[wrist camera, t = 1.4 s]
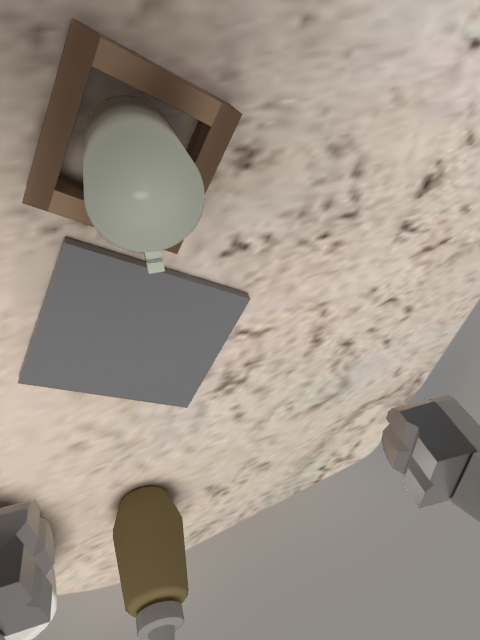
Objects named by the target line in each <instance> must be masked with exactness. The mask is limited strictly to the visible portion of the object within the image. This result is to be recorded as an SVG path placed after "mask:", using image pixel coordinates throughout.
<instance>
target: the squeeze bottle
mask: <svg viewBox="0 0 480 640" xmlns="http://www.w3.org/2000/svg"><path fill="white" fill-rule="evenodd" d="M113 540H114V546H115V552H116V557H117V563H118V569H119V575H120V581H121V586H122V592H123V598H124V604H125V610H126V612H128V613H129V614H130V615H132V616H133V617H136V627H137V636H138V637H139V638H140V639H143V640H174V635H175V632H176V631H177V630H179V629H180V628H181V627H182V626H183V624H184V616H183V610H182V605H181V604H182V602H183V601H184V600H185V599H186V597H187V595H188V580H187V569H186V557H185V545H184V534H183V522H182V516H181V515H180V513H179V511H178V510H177V508H176V506H175V505H174V503H173V501H172V499H171V498H170V496H169V494H168V493H167V491H166V490H165V489H162V488H160V487H154V486H148V487H142V488H139V489H136V490H134V491H131V492H130V493H129V494H127V495H126V496H124V498H123V499H122V501H121V503H120V506H119V510H118V514H117V517H116V521H115V524H114V528H113Z"/></svg>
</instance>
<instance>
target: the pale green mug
mask: <svg viewBox="0 0 480 640" xmlns="http://www.w3.org/2000/svg"><path fill="white" fill-rule="evenodd" d="M82 143H83V182H84V202H85V208H86V211H87V214H88V216H89V218H90V220H91V222H92V224H93V225H94V227H95V228H96V229H97V230H98V232H99V233H100V234H101V235H102V236H103V237H105V238H106V239H107V240H108V241H110V242H111V243H113V244H115V245H117V246H118V247H121V248H123V249H126V250H130V251H134V252H144V257H145V261H146V265H147V269H148V273H149V274H152V273H158V272H163V271H165V269H164V262H163V256H162V250H164V249H167V248H170V247H172V246H174V245H176V244H177V243H179V242H181V241H182V240H183V239H184V238H186V237H187V236H188V235H189V234H190V233H191V232H192V230H193V229H194V228H195V226H196V225H197V223H198V221H199V219H200V217H201V214H202V211H203V207H204V200H205V191H204V184H203V181H202V177H201V175H200V172H199V170H198V168H197V167H196V165H195V163H194V162H193V160H192V159H191V157H190V156H189V154H188V153H187V151H186V150H185V148H184V147H183V145H182V144H181V142H180V141H179V139H178V138H177V136H176V135H175V133H174V131H173V130H172V128H171V127H170V125H169V124H168V122H167V121H166V119H165V118H164V116H163V115H162V114H161V113H160V112H159V111H158V110H157V109H156V108H155V107H154V106H153V105H151V104H150V103H148V102H146V101H144V100H142V99H139V98H136V97H131V96H118V97H113V98H110V99H107V100H105V101H103V102H102V103H100V104H99V105H98V106H97V107H95V108H94V109H93V111H92V112H91V113H90V114H89V116H88V118H87V120H86V122H85V125H84V129H83V136H82Z"/></svg>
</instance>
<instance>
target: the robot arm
mask: <svg viewBox="0 0 480 640" xmlns="http://www.w3.org/2000/svg"><path fill="white" fill-rule="evenodd" d="M386 419H387V420H388V422H389V423H390V424H389V425H388V426H387V427H386V428H385V429H384V430H383V435H382V445H383V450H384V453H385V455H386V458H387V460H388V461H389V463H390V464H391V466H392V468H394V469H395V470H397V471H399V472H401V473H402V474H403V485H404V486H405V488H406V489H407V491H408V492H409V494H410V495H411V497H412V499H413V500H414V502H415V503H416V505H417V506H418V508H422V507H425V506H429V505H433V504H436V503H440V502H443V501H447V500H451V499H452V500H451V502H452V503H454V504H455V505H456V506H458V507H459V508H461V509H462V510H464V511H465V512H467V513H468V514H469V515H471V516H472V517H474V518H475V519H476V520H478V521H479V522H480V425H478V423H477V422H476V421H475V420H474V419H473V418H472V417H471V416H470V415H469V413H468V412H467V411H466V410H465V409H464V408H463V407H462V406H461V405H460V404H459V403H458V402H457V400H456V399H454V398H453V397H452V396H450V395H441V396H438V397H434V398H431V399H424V400H420V401H417V402H413V403H409V404H406V405H402V406H399V407H395V408H392V409H391V410H390V411H388V414H387V418H386ZM54 550H55V549H54V539H53V533H52V529H51V526H50V524H49V522H48V520H47V519H44V518H41V517H40V507H39V505H38V504H37V502H36V501H35V500H31V501H27V502H23V503H19V504H15V505H10V506H6V507H2V508H0V640H5V638H4V637H6V636H9V635H12V634H15V633H18V632H21V631H24V630H27V629H30V628H33V627H36V626H39V625H41V624H44V623H47V622H50V617H51V602H52V587H53V586H52V585H51V583H50V582H49V580H48V579H47V577H46V575H47V574H48V572H49V571H50V569H51V568H52V566H53V564H54Z"/></svg>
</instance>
